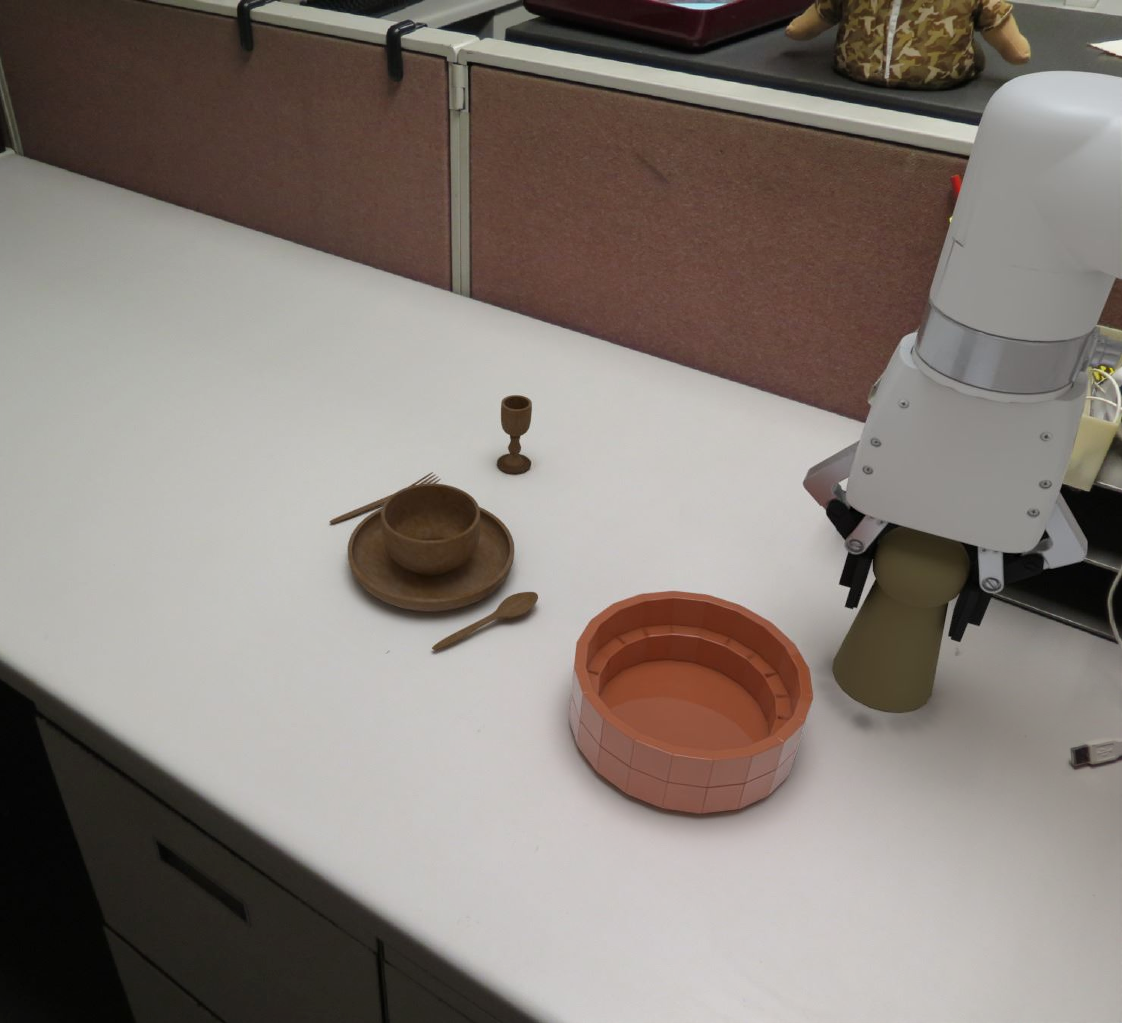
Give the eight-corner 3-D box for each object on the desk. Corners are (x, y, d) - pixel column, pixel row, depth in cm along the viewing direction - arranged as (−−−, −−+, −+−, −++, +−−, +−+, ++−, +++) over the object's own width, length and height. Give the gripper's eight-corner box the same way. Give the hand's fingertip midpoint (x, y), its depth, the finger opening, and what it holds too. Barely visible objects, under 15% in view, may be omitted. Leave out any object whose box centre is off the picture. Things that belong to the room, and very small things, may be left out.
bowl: (817, 692, 66) (834, 634, 63) (762, 855, 56) (779, 795, 53) (615, 623, 71) (622, 567, 68) (533, 762, 61) (538, 703, 58)
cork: (834, 703, 65) (877, 566, 58) (829, 637, 70) (868, 503, 63) (938, 720, 64) (994, 582, 57) (926, 651, 68) (976, 517, 62)
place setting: (300, 529, 79) (293, 465, 76) (513, 448, 88) (516, 387, 84) (425, 668, 68) (424, 599, 64) (656, 558, 76) (666, 493, 73)
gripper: (1194, 347, 52) (1064, 618, 63) (839, 279, 58) (777, 535, 69) (1199, 418, 46) (1057, 700, 57) (808, 335, 53) (747, 603, 64)
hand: (905, 608), depth 63 cm, fingers closed on cork, 5 cm apart
